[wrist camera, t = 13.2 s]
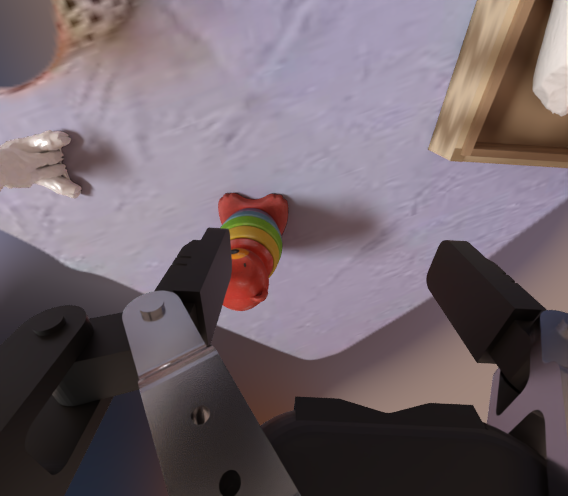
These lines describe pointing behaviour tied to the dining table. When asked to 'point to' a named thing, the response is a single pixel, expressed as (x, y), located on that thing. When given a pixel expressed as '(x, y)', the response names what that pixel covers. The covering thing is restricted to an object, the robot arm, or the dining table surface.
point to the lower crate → (475, 83)
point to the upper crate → (518, 98)
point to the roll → (554, 62)
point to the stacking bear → (252, 245)
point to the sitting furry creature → (37, 163)
